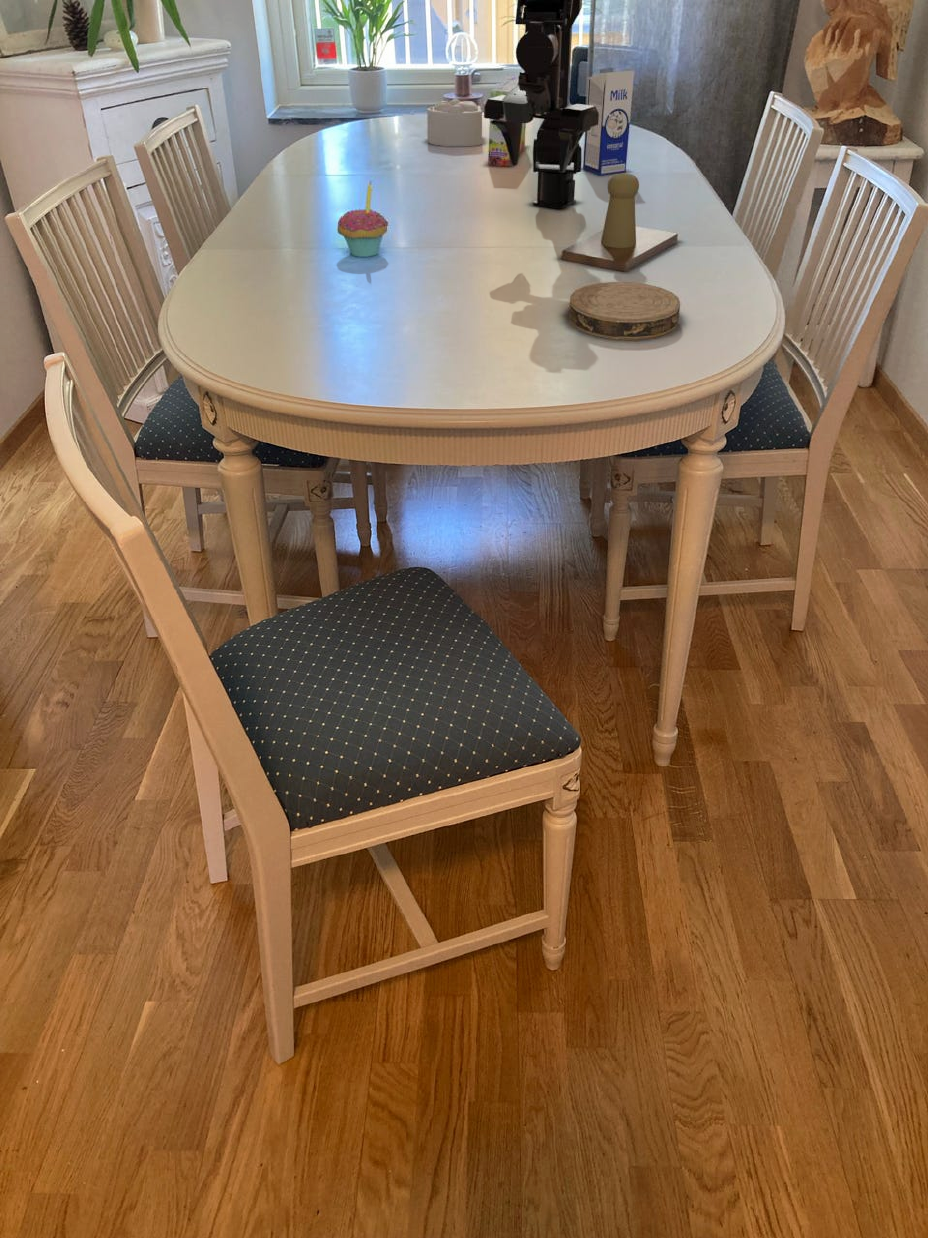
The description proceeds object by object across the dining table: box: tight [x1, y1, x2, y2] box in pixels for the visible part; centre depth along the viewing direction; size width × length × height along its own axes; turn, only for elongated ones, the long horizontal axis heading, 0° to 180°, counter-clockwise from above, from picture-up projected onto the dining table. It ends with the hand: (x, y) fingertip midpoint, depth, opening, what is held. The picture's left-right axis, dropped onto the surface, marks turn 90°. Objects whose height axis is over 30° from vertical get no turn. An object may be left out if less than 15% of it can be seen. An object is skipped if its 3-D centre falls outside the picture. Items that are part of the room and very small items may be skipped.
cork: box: [601, 173, 640, 248], centre depth 175 cm, size 6×6×11 cm
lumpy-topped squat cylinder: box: [426, 98, 483, 147], centre depth 248 cm, size 10×13×9 cm
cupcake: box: [336, 180, 389, 258], centre depth 175 cm, size 9×8×12 cm
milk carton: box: [582, 67, 635, 176], centre depth 221 cm, size 7×7×20 cm
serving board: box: [561, 225, 679, 273], centre depth 179 cm, size 12×20×2 cm, turn 146°
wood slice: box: [568, 281, 681, 341], centre depth 151 cm, size 16×16×3 cm
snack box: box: [487, 76, 527, 167], centre depth 234 cm, size 21×6×15 cm, turn 168°
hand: (538, 168), depth 173 cm, fingers open, 9 cm apart
